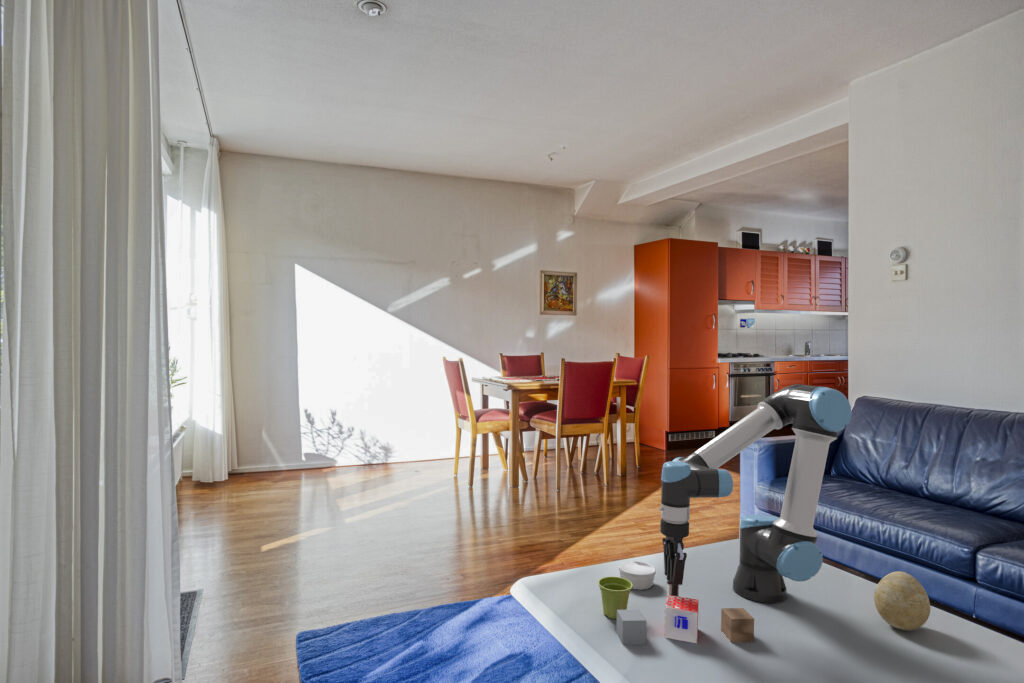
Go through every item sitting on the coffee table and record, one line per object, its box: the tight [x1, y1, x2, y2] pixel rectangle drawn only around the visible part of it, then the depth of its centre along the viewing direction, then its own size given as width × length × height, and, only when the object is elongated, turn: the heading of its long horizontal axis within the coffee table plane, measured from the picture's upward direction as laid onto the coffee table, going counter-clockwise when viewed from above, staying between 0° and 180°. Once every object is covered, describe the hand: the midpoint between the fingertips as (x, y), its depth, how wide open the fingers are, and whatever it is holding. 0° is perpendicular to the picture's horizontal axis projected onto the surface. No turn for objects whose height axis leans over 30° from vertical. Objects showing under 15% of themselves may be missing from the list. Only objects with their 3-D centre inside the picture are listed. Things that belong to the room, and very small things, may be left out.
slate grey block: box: [615, 609, 647, 645], centre depth 153 cm, size 6×6×6 cm
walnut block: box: [720, 607, 755, 643], centre depth 155 cm, size 6×6×6 cm
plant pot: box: [597, 576, 633, 620], centre depth 166 cm, size 9×9×9 cm
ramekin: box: [618, 560, 657, 591], centre depth 186 cm, size 11×11×5 cm
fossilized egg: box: [873, 570, 931, 631], centre depth 161 cm, size 13×13×15 cm
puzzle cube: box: [664, 595, 700, 644], centre depth 156 cm, size 8×8×8 cm
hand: (672, 606), depth 162 cm, fingers closed
